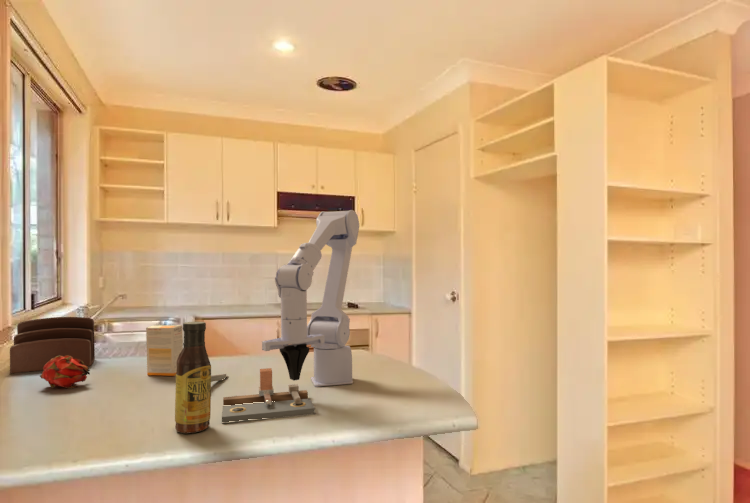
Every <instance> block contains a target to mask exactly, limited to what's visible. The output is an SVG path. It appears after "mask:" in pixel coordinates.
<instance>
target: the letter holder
mask: <svg viewBox="0 0 750 503" xmlns="http://www.w3.org/2000/svg"><path fill="white" fill-rule="evenodd" d="M16 326H17V327H16V329H17V332H16V333H17V334H15V335H14V337H13V345H12V346H10V348H9V373H10V374H18V373H19V374H20V373H28V372H30V373H31V372H43V370H44V369H43V367H44V366H45V364H46V363H47V362H49V361H50V360H51V359H52V358H55V357H56V356H59V355H61V356H63V357H64V356H66V355H69V356H71V357H73V359H80V360H81V361H83V362H84V365H85V366H87V367H91V366H92V365H93V363H94V362H95V358H96V356H95V354H96V353H95V352H96V351H95V350H96V349H95V346H96V345H95V320H94V319H93V318H91V317H83V316H57V317H45V318H44V317H43V318H35V319H31V320H24V321H20V322H18V324H17V325H16ZM81 365H82V364H81Z"/></svg>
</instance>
